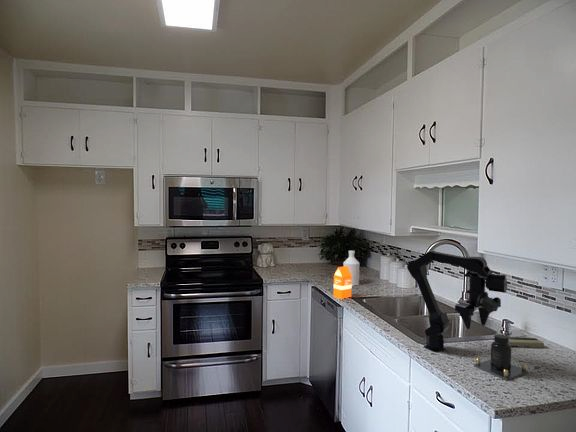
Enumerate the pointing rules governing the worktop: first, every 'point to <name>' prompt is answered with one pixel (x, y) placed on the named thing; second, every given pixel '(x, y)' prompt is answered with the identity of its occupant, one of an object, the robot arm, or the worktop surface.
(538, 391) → the worktop surface
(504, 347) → the supplement bottle
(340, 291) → the orange juice
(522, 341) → the olive rectangular tray
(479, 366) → the chassis plate
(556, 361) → the worktop surface
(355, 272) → the bottle
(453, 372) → the worktop surface
